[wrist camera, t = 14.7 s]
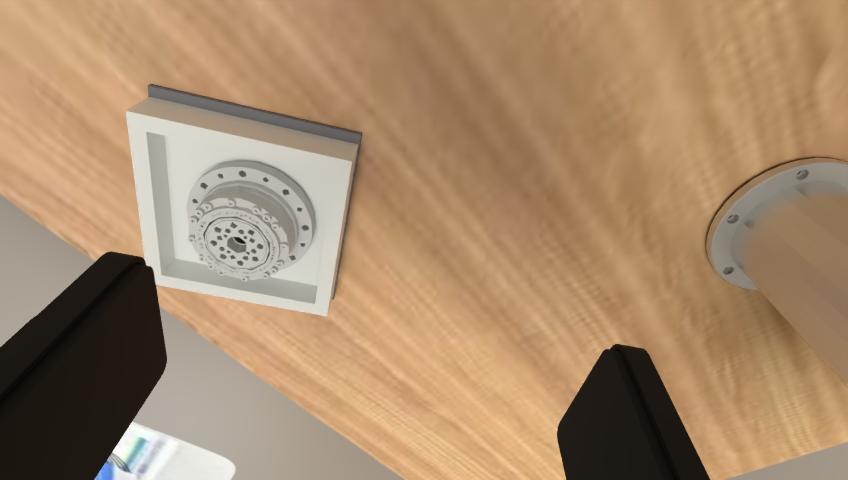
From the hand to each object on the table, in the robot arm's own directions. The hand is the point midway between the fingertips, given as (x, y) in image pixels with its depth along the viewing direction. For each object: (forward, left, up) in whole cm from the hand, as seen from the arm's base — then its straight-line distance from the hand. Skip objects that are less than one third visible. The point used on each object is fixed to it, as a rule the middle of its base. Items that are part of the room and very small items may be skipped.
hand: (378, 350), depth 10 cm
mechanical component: (+10, +15, -26) cm, 32 cm away
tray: (+11, +15, -27) cm, 32 cm away
